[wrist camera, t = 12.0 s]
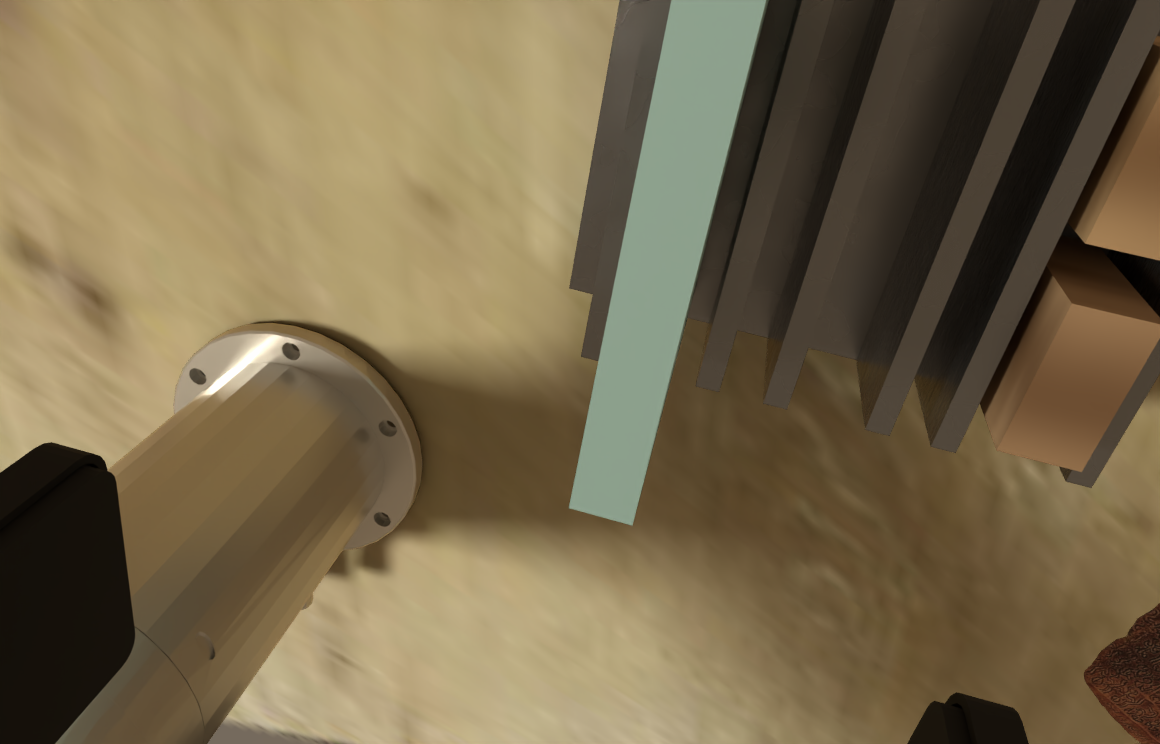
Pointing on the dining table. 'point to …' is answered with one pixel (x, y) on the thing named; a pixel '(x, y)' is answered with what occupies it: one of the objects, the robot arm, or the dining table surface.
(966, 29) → the rack
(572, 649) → the dining table surface
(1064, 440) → the tall walnut offcut
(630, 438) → the teal sheet
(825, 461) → the dining table surface
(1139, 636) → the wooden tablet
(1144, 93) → the short walnut offcut
